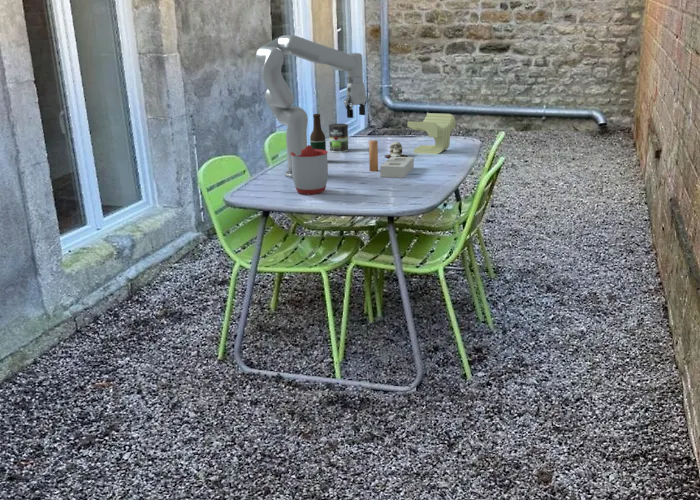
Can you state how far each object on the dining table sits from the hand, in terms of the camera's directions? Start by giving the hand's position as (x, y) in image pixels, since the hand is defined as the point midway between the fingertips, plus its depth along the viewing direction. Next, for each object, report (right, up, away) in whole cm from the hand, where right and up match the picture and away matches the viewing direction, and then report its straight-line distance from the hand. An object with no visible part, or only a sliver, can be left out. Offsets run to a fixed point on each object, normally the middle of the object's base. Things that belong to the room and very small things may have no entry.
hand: (356, 116), depth 348 cm
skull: (+21, -16, +25) cm, 37 cm away
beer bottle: (-19, -20, +19) cm, 33 cm away
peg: (+8, -27, -5) cm, 28 cm away
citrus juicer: (-20, -40, -40) cm, 60 cm away
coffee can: (-9, -11, +44) cm, 46 cm away
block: (+19, -28, -10) cm, 36 cm away
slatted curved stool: (+41, -12, +35) cm, 55 cm away
